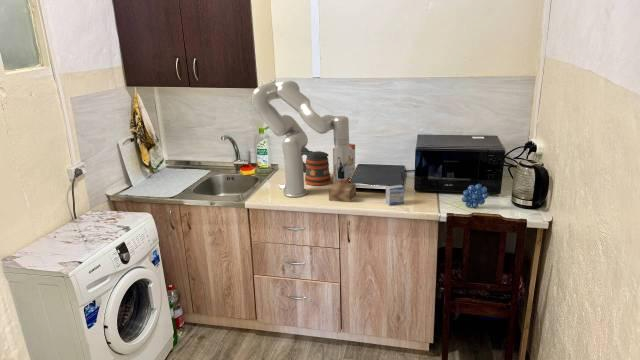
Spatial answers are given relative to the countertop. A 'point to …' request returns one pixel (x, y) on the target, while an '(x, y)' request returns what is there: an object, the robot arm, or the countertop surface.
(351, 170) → the cracker box
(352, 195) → the walnut block
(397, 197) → the medicine box
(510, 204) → the countertop surface
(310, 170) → the beer stein
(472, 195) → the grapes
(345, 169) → the slate box
